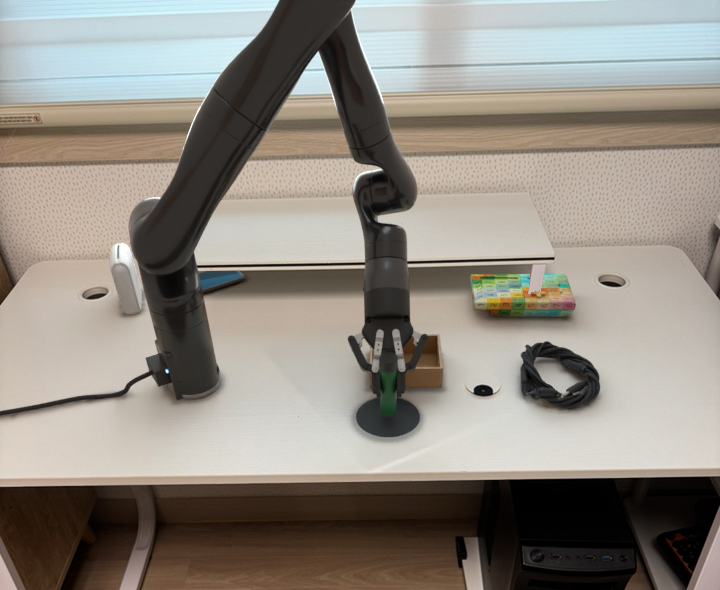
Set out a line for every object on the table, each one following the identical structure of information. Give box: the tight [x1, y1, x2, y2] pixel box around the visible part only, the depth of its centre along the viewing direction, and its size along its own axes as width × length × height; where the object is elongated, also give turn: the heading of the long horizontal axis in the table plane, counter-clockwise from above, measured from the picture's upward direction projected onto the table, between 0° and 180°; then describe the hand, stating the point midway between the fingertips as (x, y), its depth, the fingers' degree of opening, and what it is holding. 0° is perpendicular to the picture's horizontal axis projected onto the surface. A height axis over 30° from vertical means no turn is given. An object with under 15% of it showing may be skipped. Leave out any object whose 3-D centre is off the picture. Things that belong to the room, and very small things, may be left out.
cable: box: [520, 340, 601, 409], centre depth 125 cm, size 17×14×4 cm
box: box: [368, 333, 444, 388], centre depth 127 cm, size 13×11×4 cm
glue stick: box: [379, 352, 398, 416], centre depth 114 cm, size 3×3×11 cm
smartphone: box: [199, 270, 246, 294], centre depth 154 cm, size 8×15×1 cm, turn 123°
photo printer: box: [109, 242, 143, 315], centre depth 145 cm, size 10×4×12 cm, turn 12°
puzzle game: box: [469, 273, 577, 318], centre depth 143 cm, size 12×5×20 cm
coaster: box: [355, 397, 421, 438], centre depth 119 cm, size 11×11×1 cm
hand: (389, 396), depth 113 cm, fingers closed on glue stick, 2 cm apart
